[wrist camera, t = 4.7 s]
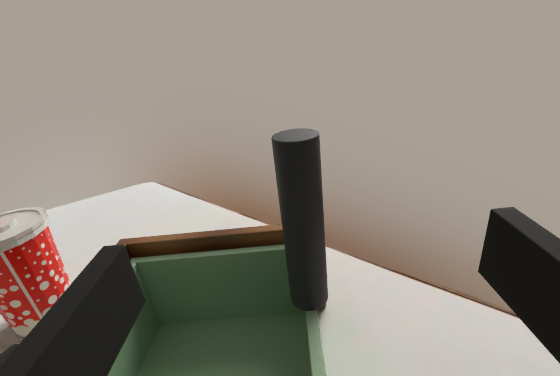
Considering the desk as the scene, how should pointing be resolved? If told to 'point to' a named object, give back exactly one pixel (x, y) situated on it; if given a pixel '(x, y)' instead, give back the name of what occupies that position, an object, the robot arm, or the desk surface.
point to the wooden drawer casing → (204, 241)
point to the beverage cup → (28, 268)
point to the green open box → (241, 291)
